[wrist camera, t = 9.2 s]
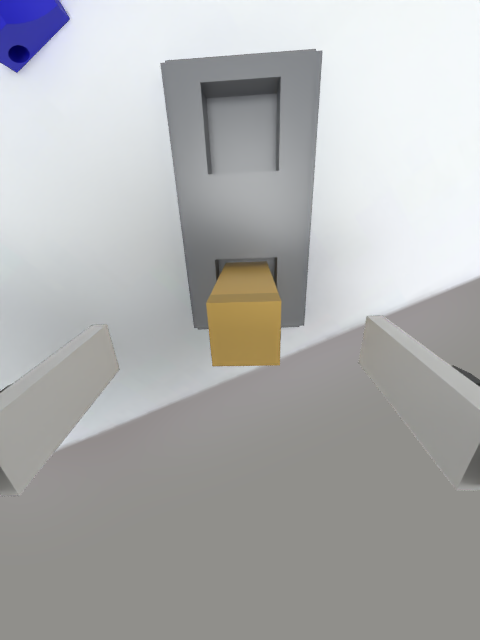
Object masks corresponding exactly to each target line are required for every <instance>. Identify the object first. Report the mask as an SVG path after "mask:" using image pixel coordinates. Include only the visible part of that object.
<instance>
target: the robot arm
mask: <svg viewBox="0 0 480 640" xmlns="http://www.w3.org/2000/svg"><path fill="white" fill-rule="evenodd" d="M359 364H360V366H361V367H362V368H363V370H364V371H365V372H366V373H367V375H368V376H369V377H370V379H371V380H372V381H373V383H374V384H375V385H376V386H377V388H378V389H379V390H380V392H381V393H382V394H383V396H384V397H385V398H386V399H387V401H388V402H389V403H390V405H391V406H392V407H393V409H394V410H395V411H396V413H397V414H398V415H399V416H400V418H401V419H402V420H403V422H404V423H405V424H406V425H407V427H408V428H409V429H410V431H411V432H412V433H413V435H414V436H415V437H416V439H417V440H418V441H419V442H420V444H421V445H422V446H423V448H424V449H425V450H426V452H427V453H428V454H429V456H430V457H431V458H432V459H433V461H434V462H435V463H436V465H437V466H438V467H439V469H440V470H441V471H442V473H443V474H444V475H445V476H446V478H447V479H448V480H449V482H450V483H451V484H452V486H453V487H454V488H455V489H456V490H480V380H479V379H478V378H476V377H475V376H473V375H472V374H470V373H468V372H466V371H464V370H462V369H460V368H458V367H455V366H451V365H449V364H448V363H446V362H445V361H444V360H442V359H441V358H440V357H438V356H437V355H436V354H434V353H433V352H431V351H430V350H429V349H427V348H426V347H425V346H423V345H422V344H421V343H419V342H418V341H417V340H415V339H414V338H412V337H411V336H410V335H408V334H407V333H406V332H404V331H403V330H402V329H400V328H399V327H398V326H396V325H395V324H393V323H392V322H391V321H389V320H388V319H387V318H385V317H384V316H383V315H379V316H367V318H366V323H365V329H364V334H363V340H362V346H361V351H360V357H359ZM119 370H120V369H119V366H118V362H117V359H116V355H115V352H114V348H113V345H112V341H111V338H110V334H109V331H108V327H107V325H91V326H90V327H89V328H87V329H86V330H85V331H83V332H82V333H81V334H79V335H78V336H77V337H75V338H74V339H73V340H71V341H70V342H68V343H67V344H66V345H64V346H63V347H62V348H60V349H59V350H58V351H56V352H55V353H54V354H52V355H51V356H50V357H48V358H47V359H46V360H44V361H43V362H41V363H40V364H39V365H37V366H36V367H35V368H33V369H32V370H31V371H29V372H28V373H27V374H25V375H24V376H23V377H21V378H20V379H19V380H17V381H16V382H14V383H13V384H11V385H9V386H7V387H6V388H4V389H3V390H2V391H0V496H20V495H21V494H22V492H23V491H24V490H25V488H26V487H27V486H28V485H29V484H30V482H31V481H32V480H33V478H34V477H35V476H36V474H37V473H38V472H39V471H40V470H41V468H42V467H43V466H44V465H45V463H46V462H47V461H48V459H49V458H50V457H51V456H52V454H53V453H54V452H55V451H56V449H57V448H58V447H59V446H60V444H61V443H62V442H63V441H64V439H65V438H66V437H67V435H68V434H69V433H70V432H71V430H72V429H73V428H74V427H75V425H76V424H77V423H78V422H79V420H80V419H81V418H82V416H83V415H84V414H85V413H86V411H87V410H88V409H89V408H90V406H91V405H92V404H93V403H94V401H95V400H96V399H97V398H98V396H99V395H100V394H101V392H102V391H103V390H104V389H105V387H106V386H107V385H108V384H109V382H110V381H111V380H112V379H113V377H114V376H115V375H116V373H117V372H118V371H119Z"/></svg>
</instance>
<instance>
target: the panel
mask: <svg viewBox="0 0 480 640" xmlns="http://www.w3.org/2000/svg"><path fill="white" fill-rule="evenodd" d="M321 64H322V51H316V49H308V50H296V51H283V52H270V53H257V54H244V55H231V56H218V57H205V58H193V59H180V60H167V61H165V63H161V71H162V79H163V87H164V95H165V102H166V110H167V118H168V126H169V134H170V142H171V150H172V157H173V165H174V173H175V181H176V189H177V197H178V204H179V212H180V220H181V228H182V236H183V244H184V251H185V259H186V267H187V275H188V283H189V291H190V298H191V306H192V314H193V322H194V328H198V329H209V326H208V317H207V307H206V302H207V300H208V298H209V296H210V294H211V292H212V290H213V288H214V286H215V284H216V282H217V280H218V278H219V276H220V274H221V272H222V270H223V268H224V266H225V264H226V263H234V262H261V261H267V264H268V266H269V269H270V272H271V274H272V277H273V280H274V283H275V285H276V288H277V291H278V293H279V296H280V299H281V327H299V326H301V325H304V316H305V301H306V287H307V272H308V257H309V242H310V227H311V212H312V198H313V183H314V168H315V153H316V138H317V124H318V109H319V94H320V79H321Z"/></svg>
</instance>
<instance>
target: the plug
mask: <svg viewBox="0 0 480 640" xmlns="http://www.w3.org/2000/svg"><path fill="white" fill-rule="evenodd" d="M206 307H207V317H208V326H209V336H210V346H211V356H212V366H262V365H280V335H281V299H280V296H279V293H278V291H277V288H276V285H275V283H274V280H273V277H272V274H271V272H270V269H269V266H268V264H267V261H261V262H234V263H226V264H225V266H224V268H223V270H222V272H221V274H220V276H219V278H218V280H217V282H216V284H215V286H214V288H213V290H212V292H211V294H210V296H209V298H208V300H207V302H206Z"/></svg>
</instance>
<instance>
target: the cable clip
mask: <svg viewBox="0 0 480 640" xmlns="http://www.w3.org/2000/svg"><path fill="white" fill-rule="evenodd" d="M69 19H70V18H69V17H68V15H67V13H66V12H65V10H64V8H63V7H62V5H61V3H60V2H59V0H0V62H1V63H2V64H4V65H5V66H7V67H9V68H10V69H12V70H14V71H15V72H18V71H19V70H20V69H21V68H22V67H23V66H24V65H25V64H26V63H27V62H28V61H29V60H30V59H31V58H32V57H33V56H34V55H35V54H36V53H37V52H38V51H39V50H40V49H41V48H42V47H43V46H44V45H45V44H46V43H47V42H48V41H49V40H50V39H51V38H52V37H53V36H54V35H55V34H56V33H57V32H58V31H59V30H60V29H61V28H62V27H63V26H64V25H65V24H66V23H67V22H68V20H69Z"/></svg>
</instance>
